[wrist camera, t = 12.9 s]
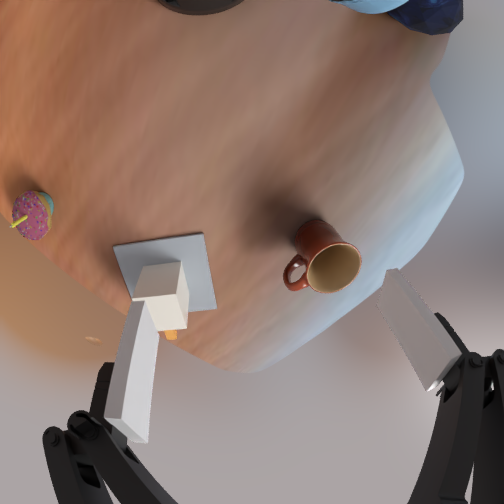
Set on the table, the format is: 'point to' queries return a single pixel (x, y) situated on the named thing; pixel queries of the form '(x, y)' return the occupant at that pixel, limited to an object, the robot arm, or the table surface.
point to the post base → (169, 251)
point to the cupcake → (32, 214)
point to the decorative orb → (429, 15)
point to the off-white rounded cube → (164, 296)
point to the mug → (322, 259)
